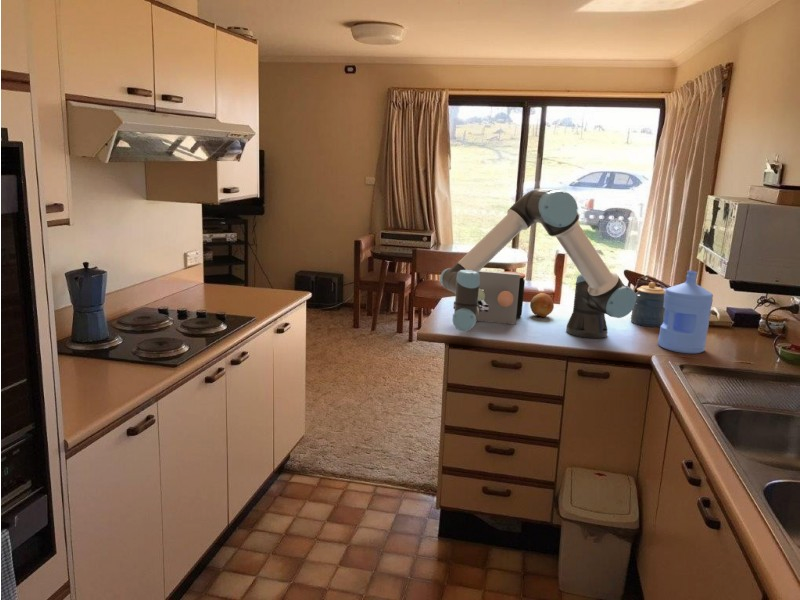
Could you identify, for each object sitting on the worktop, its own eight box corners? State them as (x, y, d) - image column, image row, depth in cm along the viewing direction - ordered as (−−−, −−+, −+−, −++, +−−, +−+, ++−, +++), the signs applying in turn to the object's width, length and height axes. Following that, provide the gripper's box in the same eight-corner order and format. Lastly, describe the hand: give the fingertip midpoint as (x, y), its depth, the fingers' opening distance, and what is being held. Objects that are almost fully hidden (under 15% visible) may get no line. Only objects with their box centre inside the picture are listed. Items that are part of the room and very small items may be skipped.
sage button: (471, 299, 248) (472, 284, 247) (485, 300, 247) (487, 286, 246) (468, 303, 240) (469, 288, 239) (483, 304, 239) (485, 289, 237)
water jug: (679, 340, 232) (690, 267, 226) (714, 352, 217) (727, 275, 212) (647, 343, 226) (658, 268, 220) (681, 355, 212) (693, 276, 206)
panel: (466, 317, 251) (469, 269, 246) (515, 322, 246) (520, 273, 242) (465, 319, 248) (468, 270, 243) (515, 324, 244) (519, 274, 239)
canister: (641, 327, 249) (647, 285, 245) (624, 319, 261) (629, 279, 257) (670, 327, 251) (676, 285, 248) (651, 319, 264) (657, 279, 260)
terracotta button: (498, 301, 246) (499, 287, 244) (513, 303, 244) (514, 288, 243) (496, 306, 238) (498, 291, 236) (512, 307, 236) (513, 292, 235)
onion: (523, 314, 261) (526, 291, 259) (540, 312, 266) (542, 290, 264) (540, 320, 253) (543, 296, 251) (557, 317, 258) (559, 294, 256)
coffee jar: (520, 313, 262) (524, 272, 259) (522, 319, 252) (526, 276, 248) (495, 312, 263) (498, 270, 260) (496, 317, 253) (500, 275, 249)
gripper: (449, 319, 216) (458, 305, 239) (486, 323, 214) (491, 309, 236) (450, 298, 215) (459, 287, 237) (488, 302, 212) (493, 290, 235)
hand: (475, 298), depth 237 cm, fingers closed
